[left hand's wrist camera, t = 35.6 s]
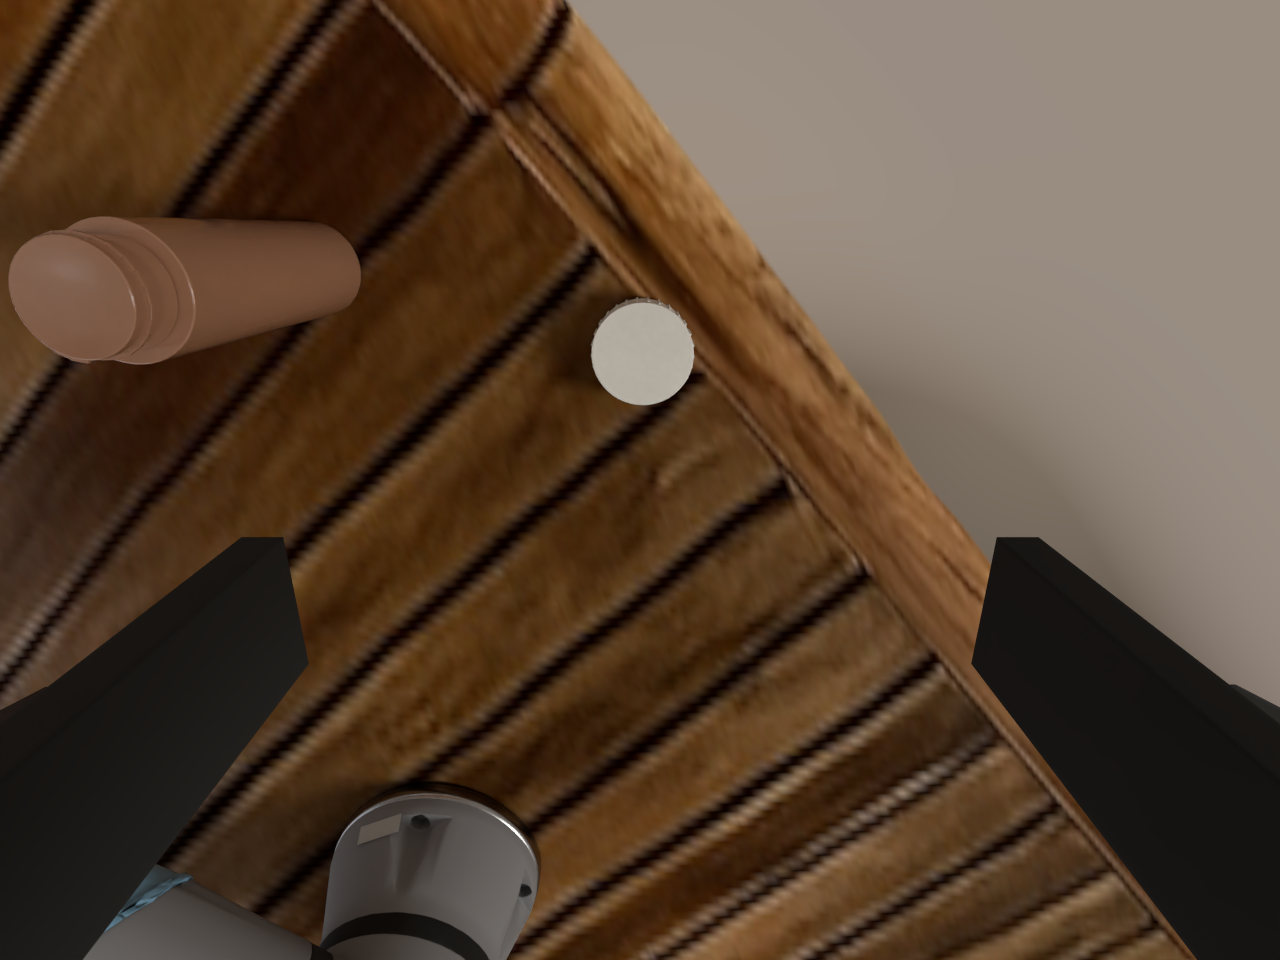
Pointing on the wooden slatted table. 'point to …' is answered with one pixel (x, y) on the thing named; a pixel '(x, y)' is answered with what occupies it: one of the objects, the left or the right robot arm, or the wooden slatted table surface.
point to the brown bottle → (176, 283)
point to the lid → (642, 351)
